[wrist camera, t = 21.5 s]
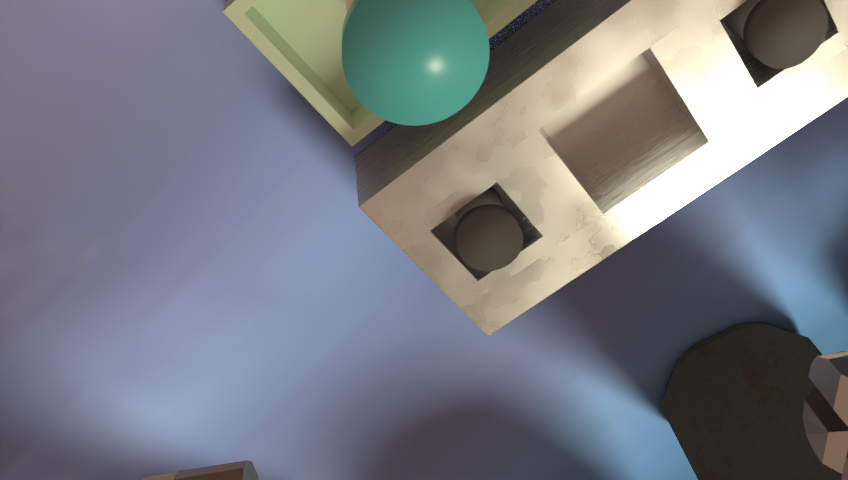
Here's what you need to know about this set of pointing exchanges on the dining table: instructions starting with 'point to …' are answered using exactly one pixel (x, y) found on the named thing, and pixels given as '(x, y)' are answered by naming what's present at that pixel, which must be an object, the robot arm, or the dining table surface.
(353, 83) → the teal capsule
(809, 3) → the dark brown rounded plug
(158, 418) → the dining table surface
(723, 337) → the bottle
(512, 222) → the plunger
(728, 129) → the white slotted holder
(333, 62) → the tray
